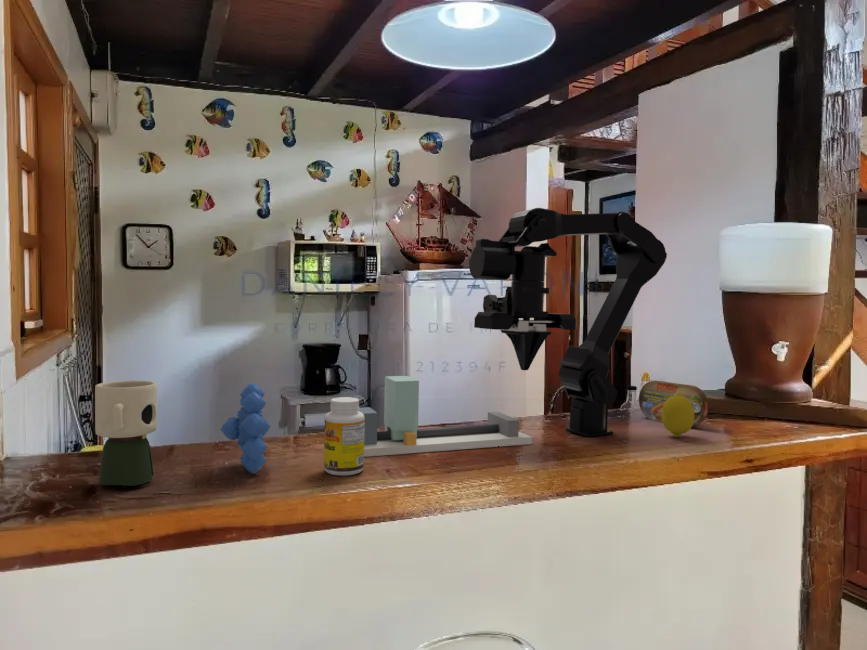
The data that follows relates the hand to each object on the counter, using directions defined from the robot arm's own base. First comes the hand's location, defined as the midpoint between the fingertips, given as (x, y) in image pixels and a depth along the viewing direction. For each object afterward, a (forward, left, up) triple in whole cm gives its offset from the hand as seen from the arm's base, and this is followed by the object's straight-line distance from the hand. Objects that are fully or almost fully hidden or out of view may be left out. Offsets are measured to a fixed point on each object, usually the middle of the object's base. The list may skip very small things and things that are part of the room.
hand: (524, 370), depth 109 cm
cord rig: (+16, -3, -12) cm, 20 cm away
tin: (-36, +3, -12) cm, 38 cm away
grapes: (+48, -2, -12) cm, 49 cm away
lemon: (-26, +12, -12) cm, 31 cm away
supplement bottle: (+36, +5, -12) cm, 38 cm away
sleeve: (+22, -4, -10) cm, 25 cm away
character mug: (+63, -2, -12) cm, 64 cm away
